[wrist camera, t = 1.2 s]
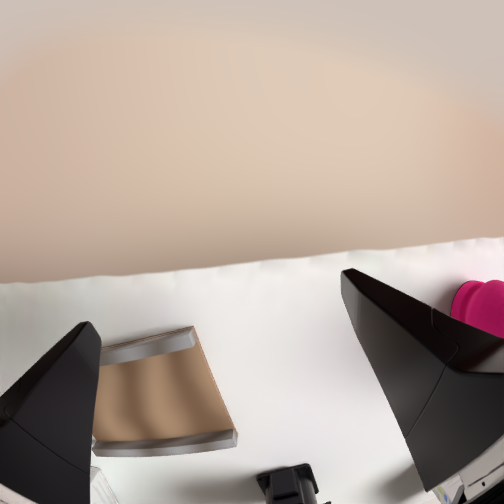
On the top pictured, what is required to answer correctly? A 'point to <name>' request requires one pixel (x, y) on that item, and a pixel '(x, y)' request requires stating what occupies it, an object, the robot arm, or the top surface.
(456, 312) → the pepper mill
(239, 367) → the top surface
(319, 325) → the top surface
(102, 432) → the track board
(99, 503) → the supplement box
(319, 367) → the top surface
